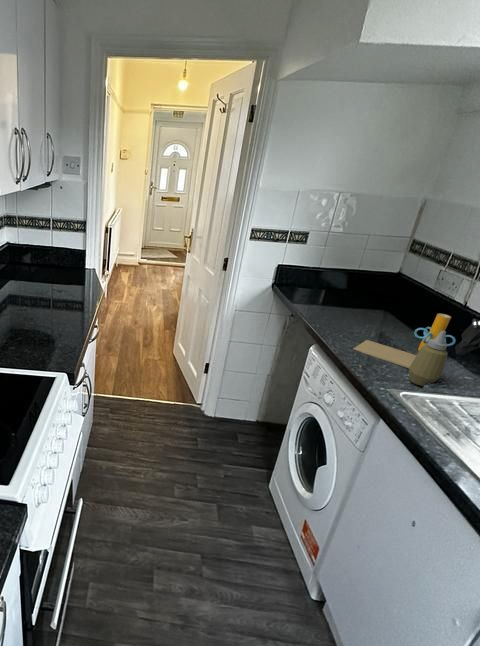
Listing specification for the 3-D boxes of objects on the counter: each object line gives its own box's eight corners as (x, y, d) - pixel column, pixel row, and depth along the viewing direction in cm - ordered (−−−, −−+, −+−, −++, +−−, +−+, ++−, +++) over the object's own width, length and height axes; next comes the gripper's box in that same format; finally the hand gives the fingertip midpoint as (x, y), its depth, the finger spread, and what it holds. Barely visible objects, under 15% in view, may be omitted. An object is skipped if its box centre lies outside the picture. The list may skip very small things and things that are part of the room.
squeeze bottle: (408, 385, 130) (432, 333, 122) (401, 373, 137) (423, 323, 129) (438, 391, 127) (464, 339, 120) (430, 379, 134) (454, 329, 126)
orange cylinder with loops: (403, 343, 160) (418, 307, 154) (432, 347, 159) (449, 311, 153) (421, 358, 149) (438, 320, 143) (452, 362, 148) (471, 324, 142)
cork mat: (420, 358, 149) (421, 356, 149) (409, 368, 141) (410, 367, 141) (366, 341, 162) (366, 339, 162) (352, 349, 153) (353, 348, 153)
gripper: (559, 303, 94) (484, 341, 115) (492, 296, 96) (431, 334, 118) (565, 333, 91) (487, 366, 113) (496, 325, 94) (433, 359, 115)
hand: (458, 350), depth 115 cm, fingers closed
